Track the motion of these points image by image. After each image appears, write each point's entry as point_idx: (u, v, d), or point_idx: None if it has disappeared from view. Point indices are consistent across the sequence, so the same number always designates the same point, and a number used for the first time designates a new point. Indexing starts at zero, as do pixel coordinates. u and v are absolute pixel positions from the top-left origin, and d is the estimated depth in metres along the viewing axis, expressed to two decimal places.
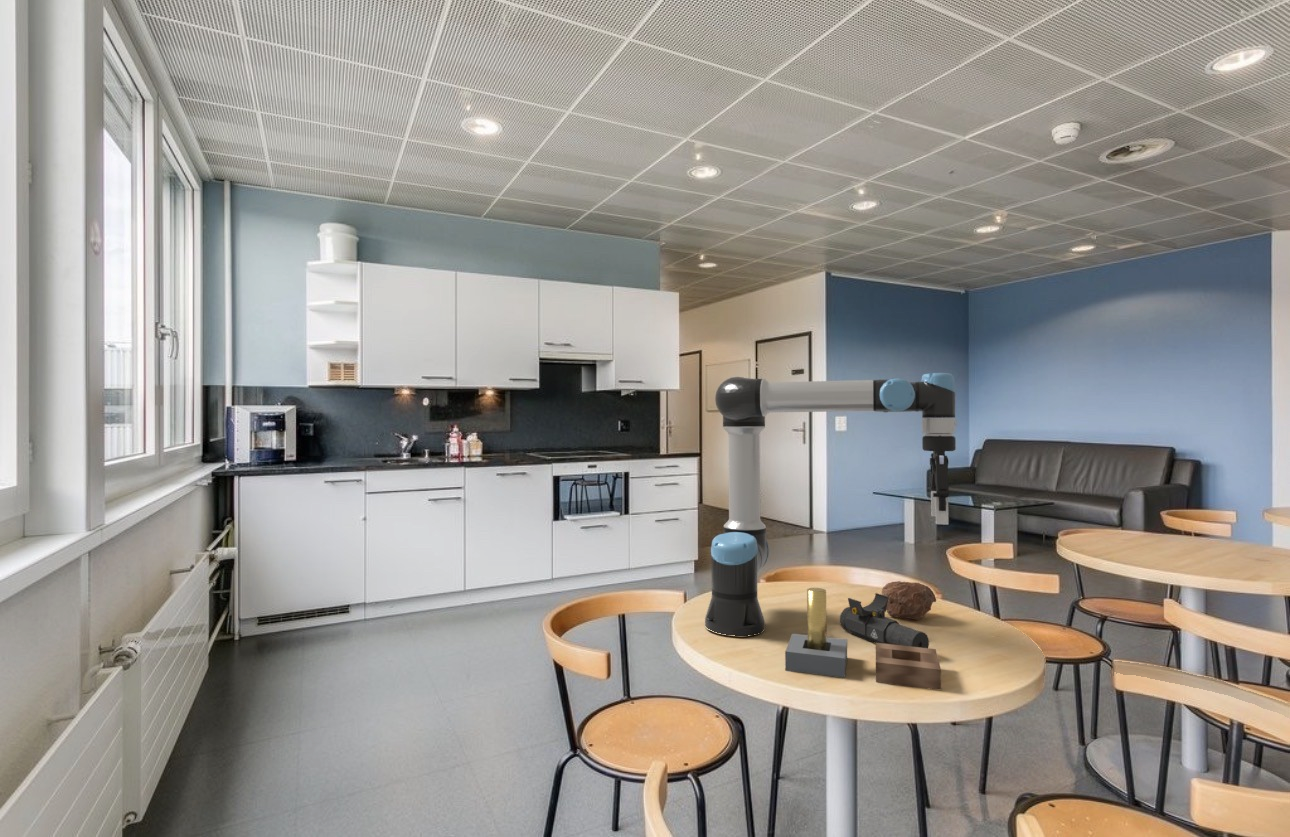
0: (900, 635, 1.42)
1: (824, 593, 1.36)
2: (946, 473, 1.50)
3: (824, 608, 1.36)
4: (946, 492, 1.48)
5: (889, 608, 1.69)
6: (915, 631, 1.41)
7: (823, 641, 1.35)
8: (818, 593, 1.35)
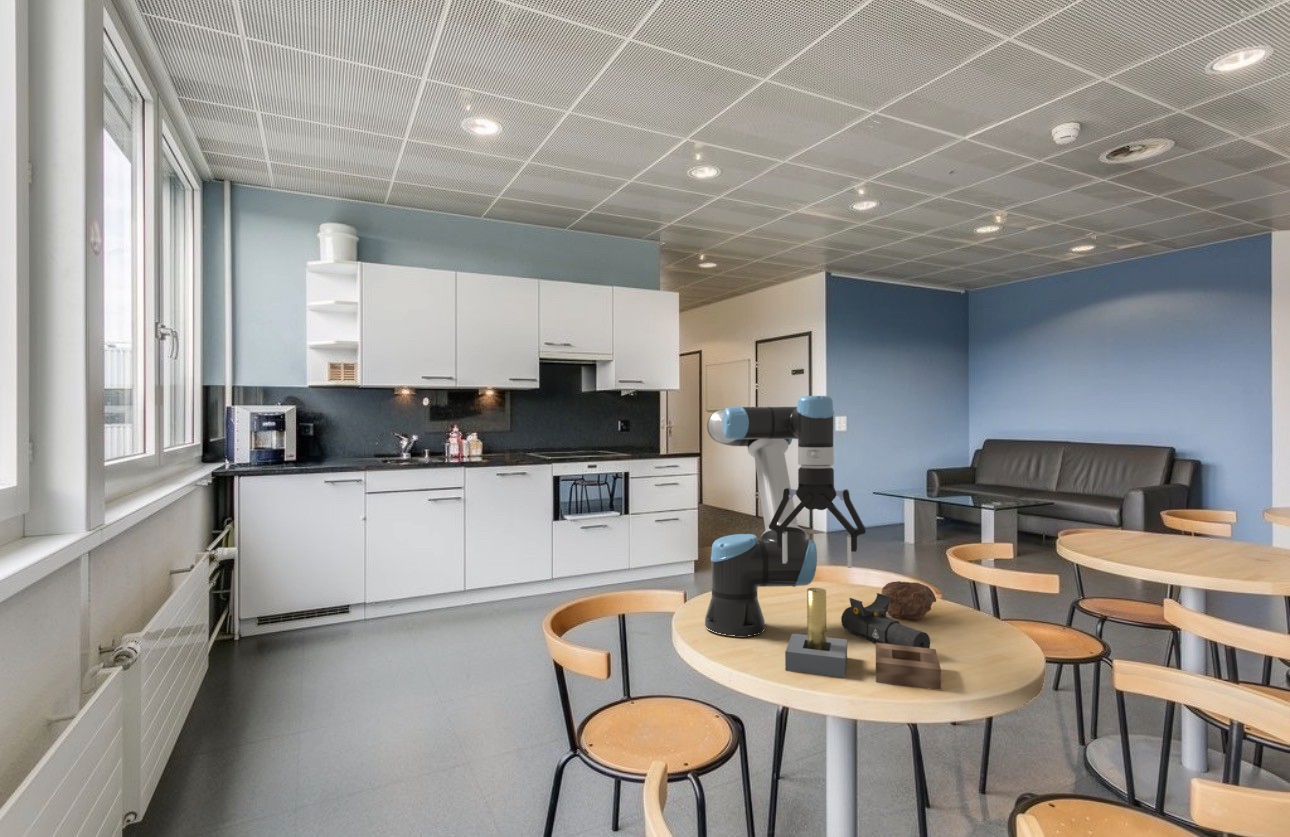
0: (901, 635, 1.42)
1: (824, 593, 1.36)
2: (778, 507, 1.39)
3: (824, 608, 1.36)
4: None
5: (889, 608, 1.69)
6: (916, 631, 1.41)
7: (823, 641, 1.35)
8: (818, 593, 1.35)
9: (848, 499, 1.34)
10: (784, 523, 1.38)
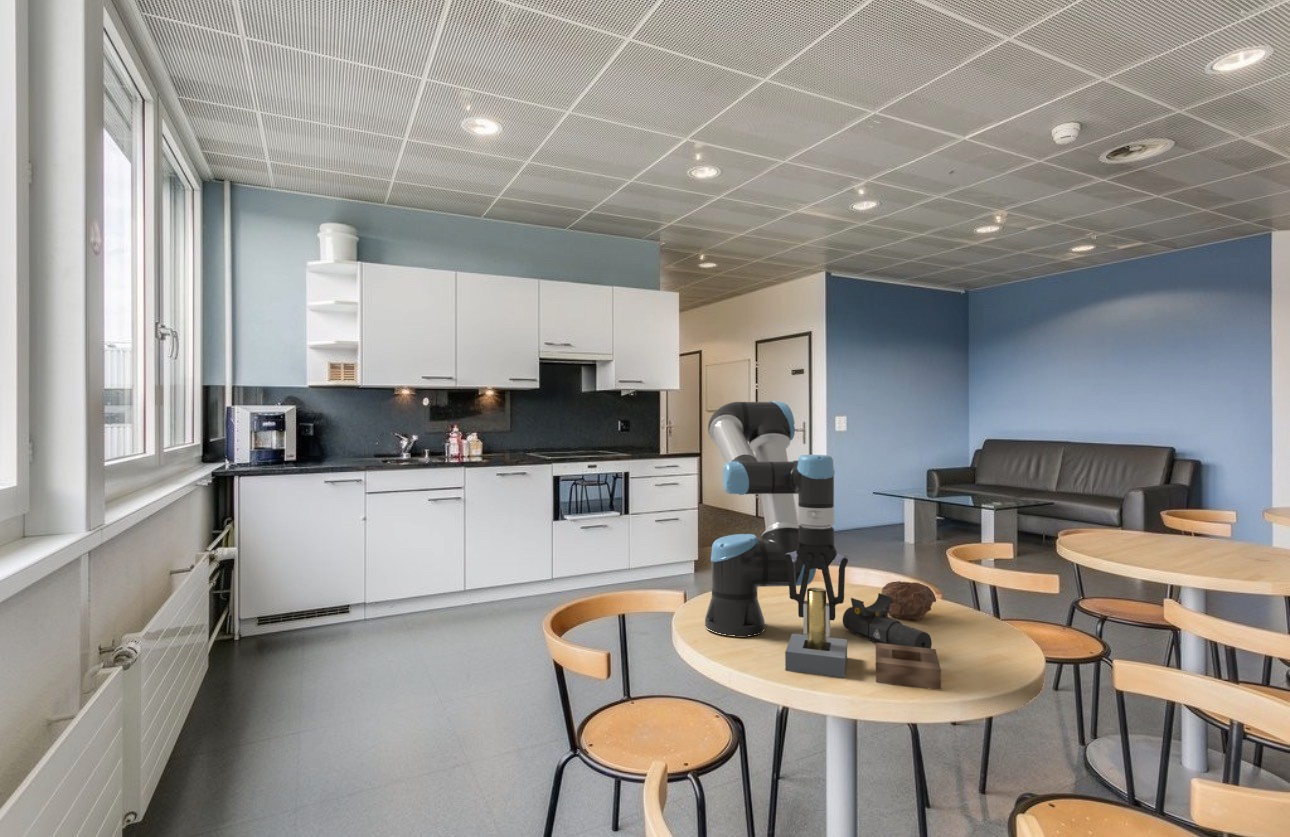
0: (902, 635, 1.42)
1: (824, 593, 1.36)
2: (788, 575, 1.38)
3: (824, 608, 1.36)
4: None
5: (889, 608, 1.69)
6: (918, 631, 1.41)
7: (823, 641, 1.35)
8: (818, 593, 1.35)
9: (844, 567, 1.34)
10: (801, 591, 1.37)
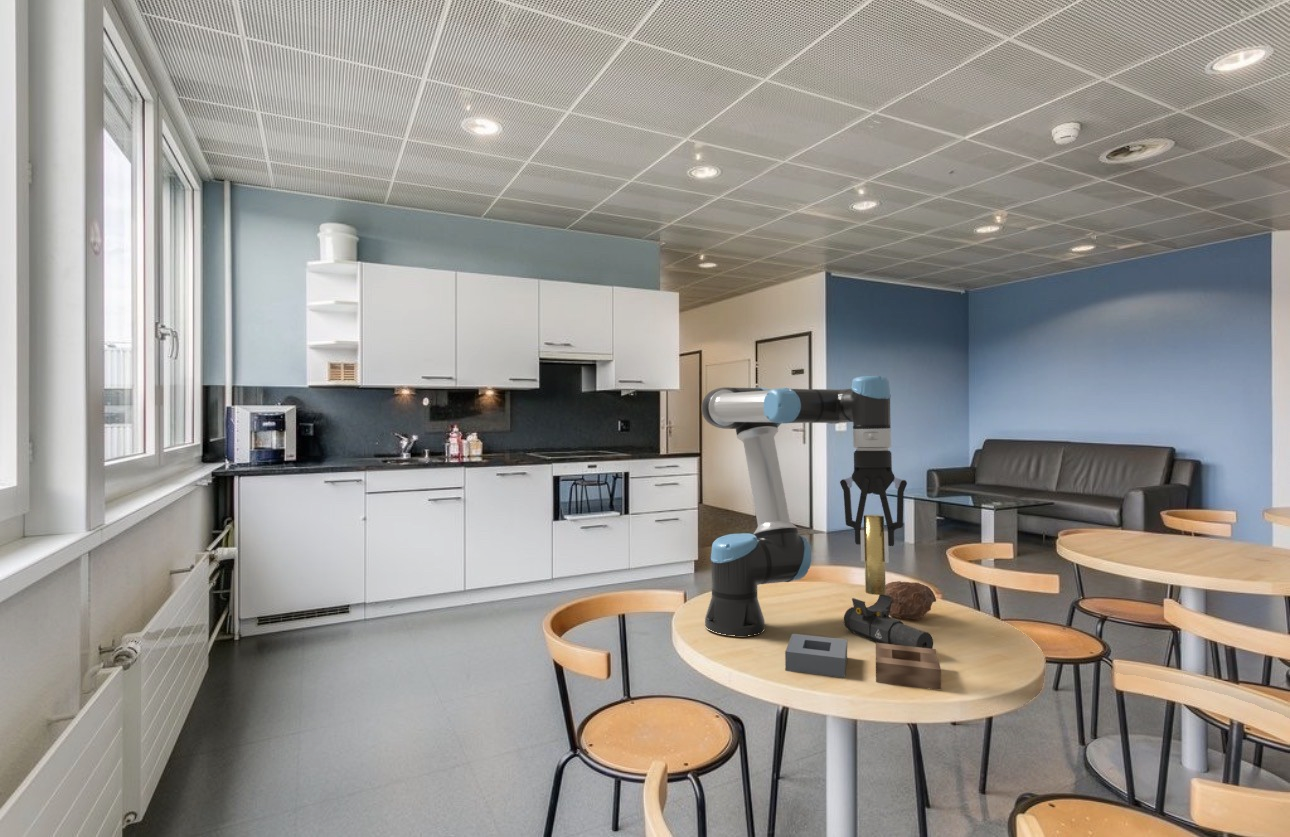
0: (904, 635, 1.42)
1: (882, 518, 1.31)
2: (844, 501, 1.34)
3: (882, 533, 1.31)
4: None
5: None
6: (919, 631, 1.41)
7: (882, 567, 1.31)
8: (876, 518, 1.31)
9: (903, 490, 1.30)
10: (858, 517, 1.33)
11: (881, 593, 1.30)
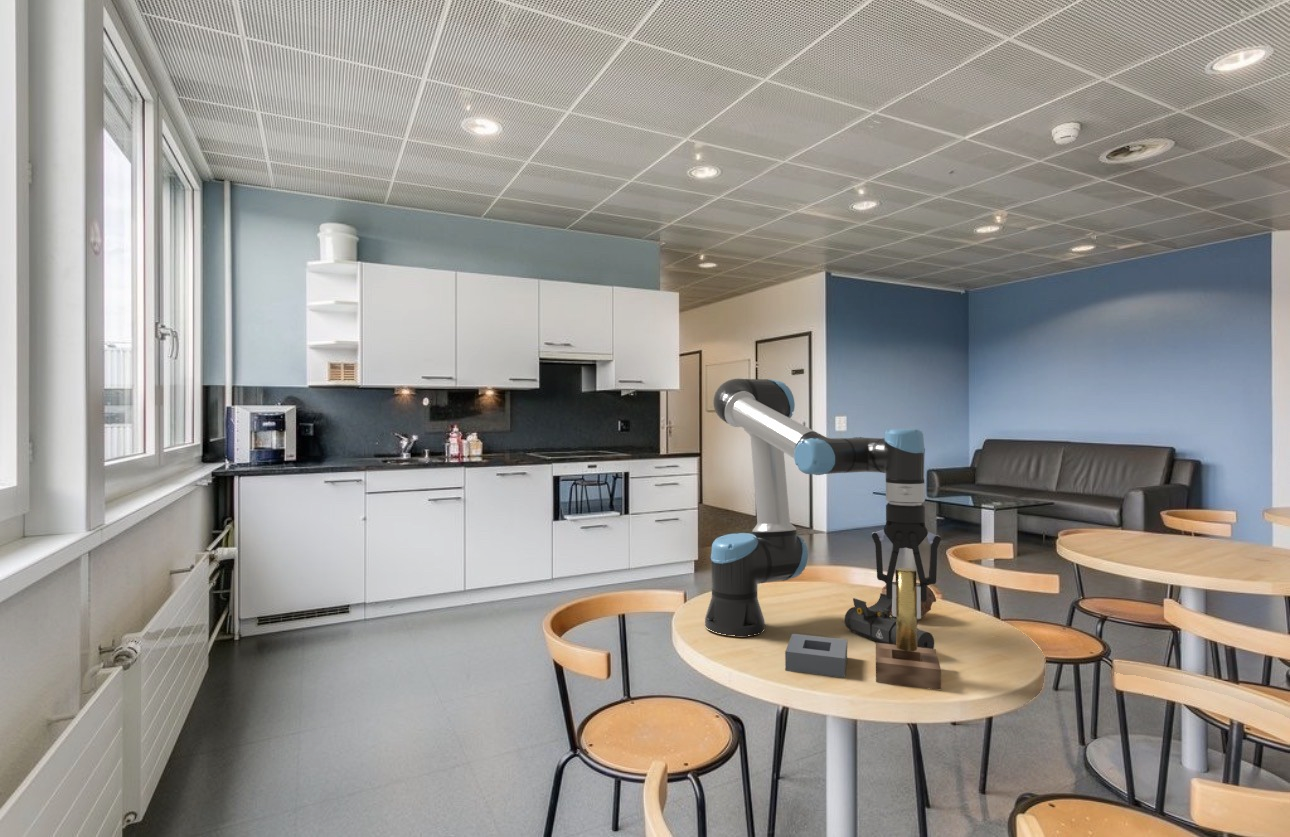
0: None
1: (915, 573, 1.29)
2: None
3: (915, 589, 1.29)
4: None
5: None
6: (920, 631, 1.41)
7: (914, 623, 1.29)
8: (909, 573, 1.29)
9: (936, 546, 1.28)
10: (890, 572, 1.31)
11: (913, 649, 1.29)
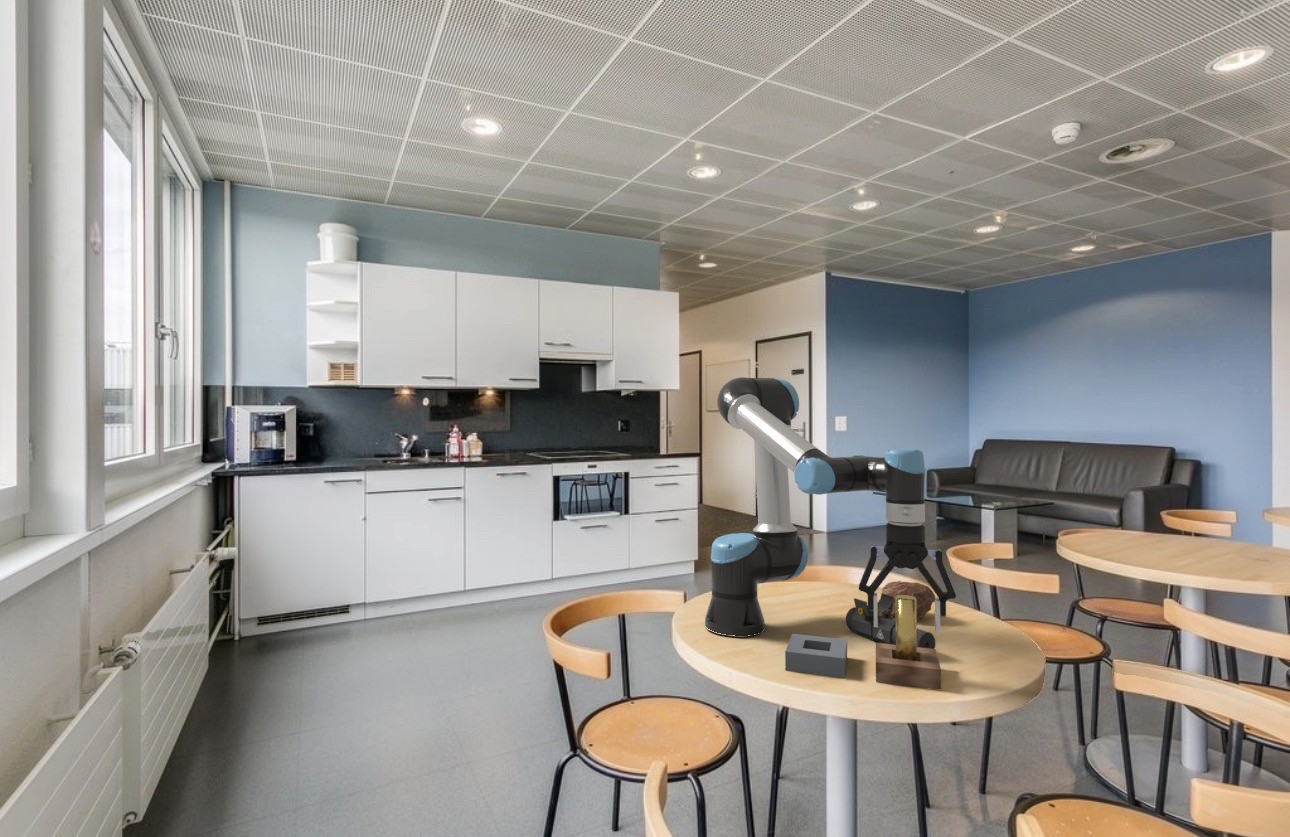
0: None
1: (915, 601, 1.29)
2: (866, 566, 1.33)
3: (915, 616, 1.29)
4: None
5: None
6: (921, 631, 1.41)
7: (914, 651, 1.29)
8: (909, 601, 1.29)
9: (941, 560, 1.28)
10: (875, 584, 1.32)
11: None
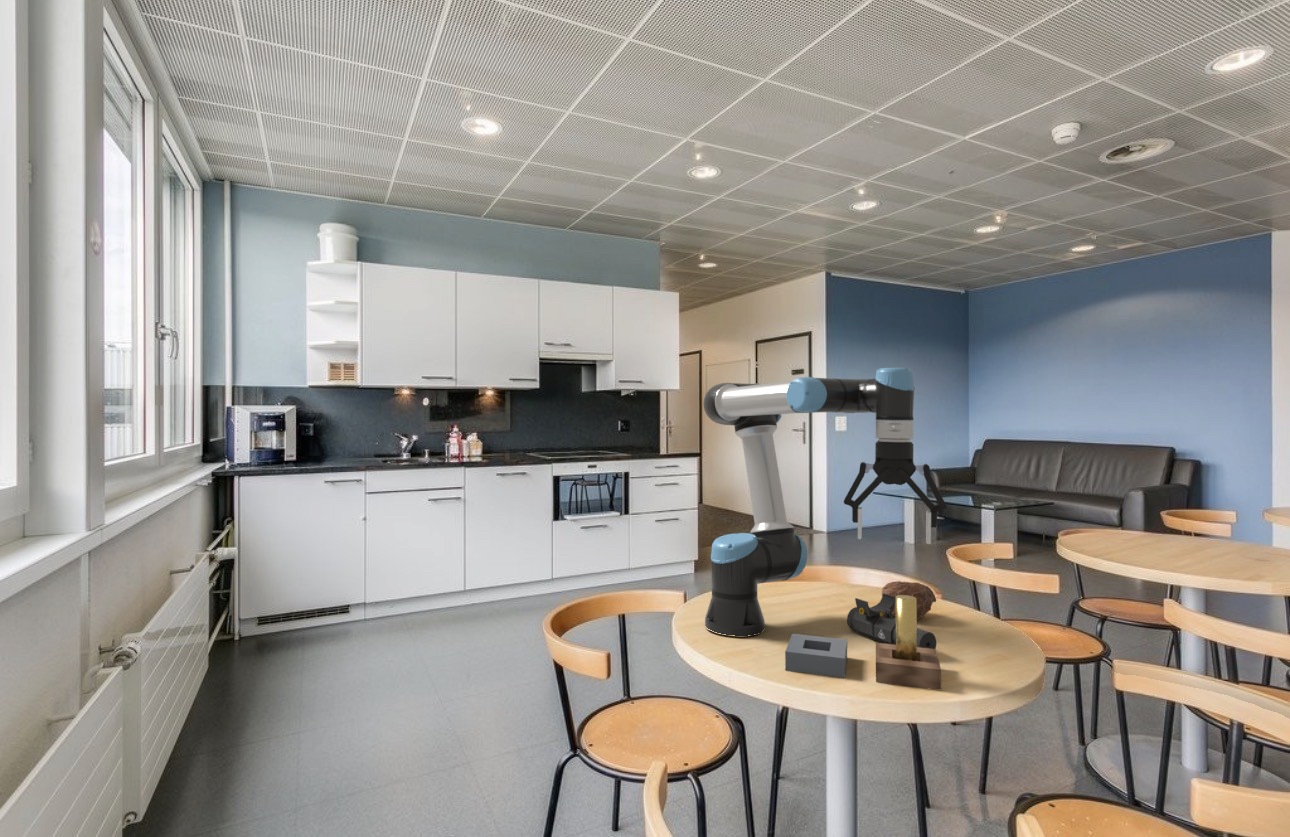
0: None
1: (915, 601, 1.29)
2: (854, 481, 1.36)
3: (915, 617, 1.29)
4: (844, 500, 1.37)
5: None
6: (922, 631, 1.41)
7: (914, 651, 1.29)
8: (909, 601, 1.29)
9: (929, 474, 1.31)
10: (860, 498, 1.35)
11: None
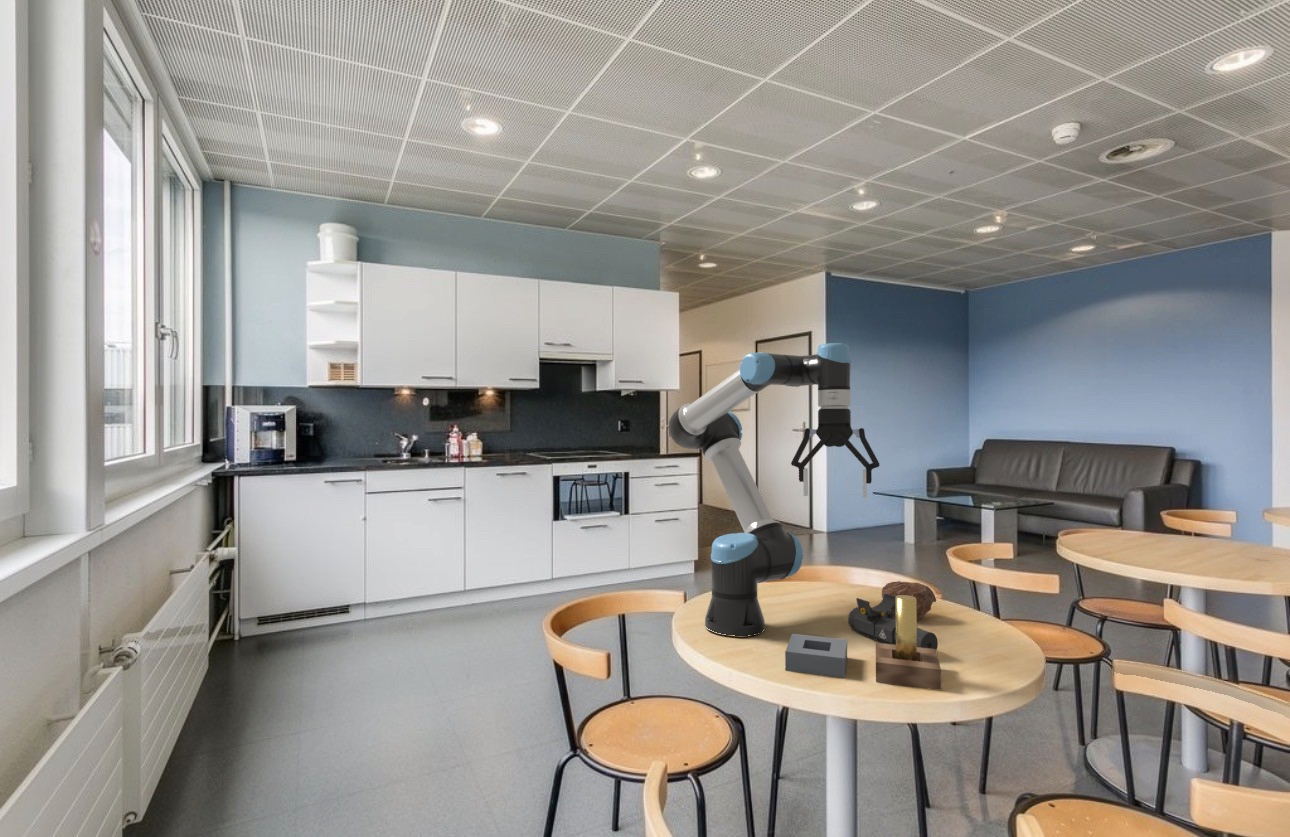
0: None
1: (915, 601, 1.29)
2: (800, 445, 1.53)
3: (915, 617, 1.29)
4: None
5: None
6: (924, 631, 1.41)
7: (914, 651, 1.29)
8: (909, 601, 1.29)
9: (864, 436, 1.48)
10: (805, 459, 1.53)
11: None
